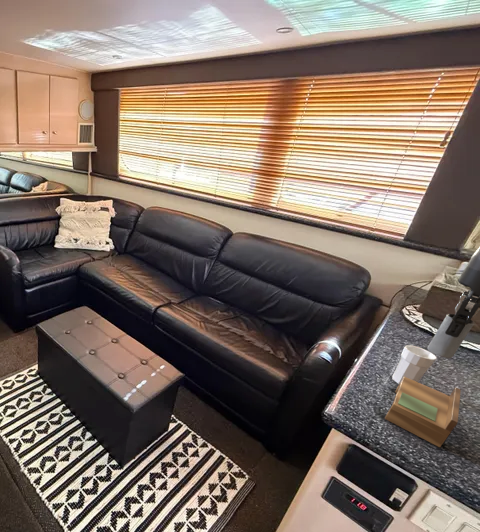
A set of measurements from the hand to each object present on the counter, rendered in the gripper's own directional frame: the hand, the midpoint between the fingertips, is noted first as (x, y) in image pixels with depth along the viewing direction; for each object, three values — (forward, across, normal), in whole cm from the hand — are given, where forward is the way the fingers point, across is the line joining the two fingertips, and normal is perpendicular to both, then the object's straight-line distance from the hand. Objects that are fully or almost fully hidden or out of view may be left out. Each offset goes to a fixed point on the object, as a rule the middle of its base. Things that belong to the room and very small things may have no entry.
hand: (452, 332), depth 79 cm
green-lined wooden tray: (+23, -4, -2) cm, 24 cm away
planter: (+7, 0, 0) cm, 7 cm away
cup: (+24, +12, +3) cm, 26 cm away
